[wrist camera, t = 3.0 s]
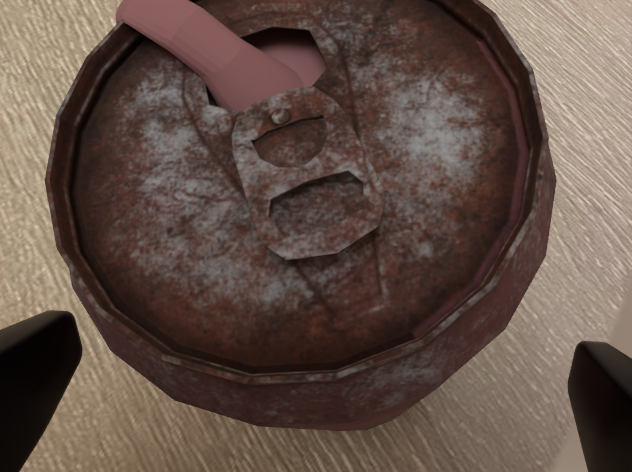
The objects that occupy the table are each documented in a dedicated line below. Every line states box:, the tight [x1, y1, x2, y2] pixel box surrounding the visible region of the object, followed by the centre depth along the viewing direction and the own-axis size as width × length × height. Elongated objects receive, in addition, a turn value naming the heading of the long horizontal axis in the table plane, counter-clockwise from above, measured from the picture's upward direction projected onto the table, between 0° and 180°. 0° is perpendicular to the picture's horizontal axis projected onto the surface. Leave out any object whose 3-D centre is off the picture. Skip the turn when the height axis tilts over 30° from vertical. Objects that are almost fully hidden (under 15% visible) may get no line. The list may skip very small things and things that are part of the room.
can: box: [45, 0, 556, 431], centre depth 12 cm, size 6×6×14 cm
